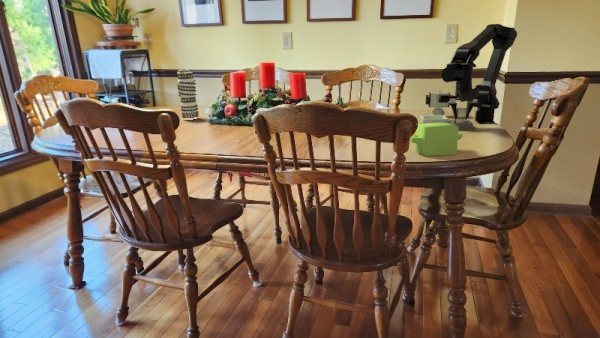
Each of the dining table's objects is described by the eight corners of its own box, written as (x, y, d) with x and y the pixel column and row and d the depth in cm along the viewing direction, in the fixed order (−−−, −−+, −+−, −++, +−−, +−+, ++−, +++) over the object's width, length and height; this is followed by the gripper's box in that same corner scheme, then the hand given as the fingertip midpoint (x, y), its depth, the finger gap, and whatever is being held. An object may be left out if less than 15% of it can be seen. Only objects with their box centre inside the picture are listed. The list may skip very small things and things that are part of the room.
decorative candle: (203, 118, 211) (197, 68, 203) (187, 121, 205) (181, 70, 197) (193, 116, 217) (187, 68, 210) (178, 119, 211) (171, 69, 203)
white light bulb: (464, 127, 167) (465, 107, 165) (466, 129, 164) (467, 109, 161) (454, 127, 168) (455, 107, 165) (456, 129, 164) (457, 109, 162)
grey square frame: (468, 125, 169) (468, 119, 168) (472, 130, 162) (473, 123, 161) (448, 126, 170) (448, 120, 169) (452, 130, 163) (452, 124, 162)
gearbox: (454, 147, 141) (456, 120, 139) (469, 153, 132) (472, 124, 129) (404, 150, 139) (405, 122, 137) (416, 157, 130) (417, 127, 127)
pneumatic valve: (424, 115, 193) (426, 89, 189) (451, 115, 190) (452, 89, 186) (425, 117, 188) (426, 91, 184) (452, 118, 185) (454, 91, 181)
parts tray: (444, 120, 180) (444, 114, 179) (447, 125, 172) (448, 119, 171) (420, 121, 182) (420, 115, 181) (422, 125, 173) (422, 119, 172)
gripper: (442, 82, 154) (439, 123, 159) (495, 81, 151) (491, 123, 156) (437, 79, 164) (435, 118, 169) (487, 78, 161) (483, 117, 166)
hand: (460, 119), depth 165 cm, fingers closed on white light bulb, 4 cm apart
